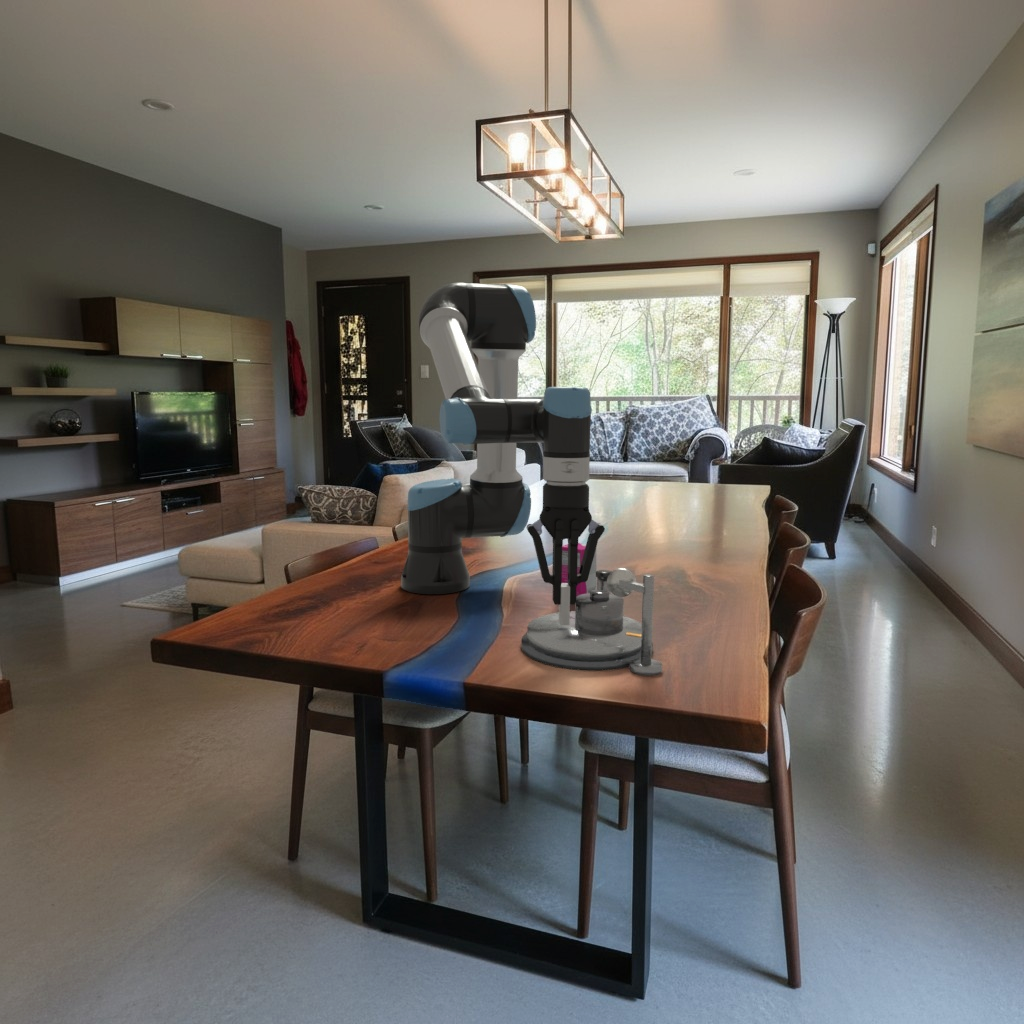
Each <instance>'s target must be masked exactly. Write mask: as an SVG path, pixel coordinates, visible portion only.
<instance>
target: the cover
mask: <svg viewBox="0 0 1024 1024" xmlns="http://www.w3.org/2000/svg"><path fill="white" fill-rule="evenodd" d="M624 600H625V599H624V598H623V597H618V596H616V595H614V594H612V593H611V594H609V591H606V590H592V591H590V593H586V594H581V595H579V596H577V597H576V603H575V604H574V605H575V608H574V611H575V629H576V630H577V631H579V632H582V633H585V634H590V635H613V634H617V633H620V632H621V631H622V630H623V616H624V605H625V604H624V602H625V601H624Z"/></svg>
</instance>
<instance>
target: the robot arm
mask: <svg viewBox="0 0 1024 1024" xmlns="http://www.w3.org/2000/svg"><path fill="white" fill-rule="evenodd" d="M417 328H418V332H419V335H420V337H421V338H420V339H421V340H422V342H423V344H424V345H426V346H427V347H428V348H429V351H430V354H431V357H432V359H433V364H434V366H435V369H436V373H437V376H438V379H439V382H440V385H441V389H442V392H443V394H444V398H445V399H444V400H442V402H441V404H440V408H439V428H440V435H441V438H442V440H444V442H445V443H447V444H463V445H467V446H468V445H477V447H476V454H477V455H476V469H475V470H474V472H473V473H471V474H470V477H469V484H467V485H466V484H464V485H463V483H462V481H461V479H459V478H441V479H433V480H428V481H424V482H419V483H417V484H414V485H413V486H411V487H410V488H409V490H408V493H407V505H406V510H407V532H408V533H407V534H408V535H407V542H408V554H407V557H406V560H405V563H404V566H403V569H402V572H401V573H402V574H401V577H400V588H401V589H402V590H404V591H406V592H409V593H412V594H413V593H414V594H419V595H444V594H445V595H446V594H453V593H454V594H455V593H459V592H462V591H464V590H466V589H468V588H469V587H470V586H471V577H470V576H471V575H470V572H469V569H468V566H467V563H466V561H465V557H464V554H463V552H462V551H463V550H462V547H463V546H462V544H463V543H462V541H463V539H467V538H468V539H471V538H472V539H473V538H490V537H493V538H494V537H500V538H503V537H506V536H507V537H509V536H517V535H519V534H521V533H522V532H523V531H524V530H525V528H526V530H527V532H528V534H529V535H530V536H531V538H532V541H533V544H534V545H533V546H534V549H535V554H536V558H537V561H538V567H539V570H540V574H541V578H542V580H543V582H544V583H547V584H550V585H552V601H553V605H555V606H556V605H558V612H559V623H560V625H570V610H571V605H575V603H576V587H577V585H578V584H579V583H581V582H586V581H587V580H588V577H589V573H590V569H591V565H592V562H593V558H594V554H595V550H596V551H597V546H598V542H599V540H600V538H601V537H602V535H603V533H604V532H605V530H606V529H605V526H604V525H602V524H601V523H599V522H596V521H595V520H594V519H593V518H592V517H593V516H592V514H591V512H590V485H589V484H588V483H587V482H588V481H590V460H591V458H590V453H591V424H592V423H591V421H592V420H591V418H592V417H591V416H592V412H593V409H592V400H591V391H590V390H589V388H587V387H585V386H548V387H547V388H546V389H545V390H544V392H543V393H544V395H543V397H536V398H518V395H519V394H518V391H519V390H518V389H519V388H518V387H519V385H518V384H519V383H518V382H519V359H520V357H522V355H524V353H525V352H526V350H527V349H526V348H527V344H529V343H530V342H532V341H533V340H534V338H535V336H536V329H537V317H536V309H535V304H534V301H533V298H532V296H531V293H530V292H529V291H528V290H527V288H526V287H524V286H521V285H515V284H514V285H513V284H509V283H508V284H507V283H503V284H502V283H501V284H500V283H476V282H474V283H469V282H468V283H467V282H453V283H448V284H445V285H443V286H441V287H439V288H438V289H436V290H434V291H433V292H432V293H430V295H429V296H428V297H427V298H426V299H425V301H424V302H423V304H422V306H421V308H420V310H419V313H418V319H417ZM470 342H471V343H470ZM476 357H477V359H476ZM477 360H478V361H477ZM521 443H523V444H527V443H529V444H530V443H532V444H533V443H543V453H542V455H543V460H542V463H543V465H542V466H543V467H542V476H543V477H542V480H544V481H545V482H546V483H544V484H543V486H542V511H541V512H540V514H539V519H537V520H536V521H534V522H533V523H528V522H529V520H530V515H531V510H532V497H531V490H530V487H529V485H528V484H526V483H524V482H523V476H522V475H521V473H519V471H518V469H517V444H521ZM543 527H544V528H545V530H546V532H547V533H548V534H549V535H550V537H551V538H552V573H550V569H549V565H548V561H547V556H546V552H545V548H544V544H543V540H542V538H541V535H542V534H543V529H542V528H543ZM587 528H588V530H587V531H588V536H587V541H586V543H585V544H586V547H585V551H584V555H583V558H582V562H581V566H580V570H579V574H577V558H578V543H579V537H581V536H582V534H583V533H584V532H585V530H586V529H587ZM564 540H567V544H568V583H562V546H564Z"/></svg>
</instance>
